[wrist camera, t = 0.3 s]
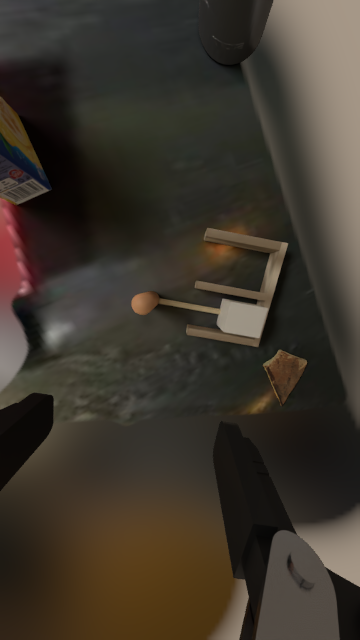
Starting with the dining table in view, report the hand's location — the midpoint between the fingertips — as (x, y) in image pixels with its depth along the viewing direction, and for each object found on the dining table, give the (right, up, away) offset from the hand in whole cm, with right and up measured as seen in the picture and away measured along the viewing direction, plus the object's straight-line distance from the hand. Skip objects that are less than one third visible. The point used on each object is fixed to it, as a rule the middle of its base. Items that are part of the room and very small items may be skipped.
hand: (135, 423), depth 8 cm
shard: (+24, -6, +28) cm, 37 cm away
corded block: (+5, +7, +24) cm, 26 cm away
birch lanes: (+11, +10, +24) cm, 28 cm away
